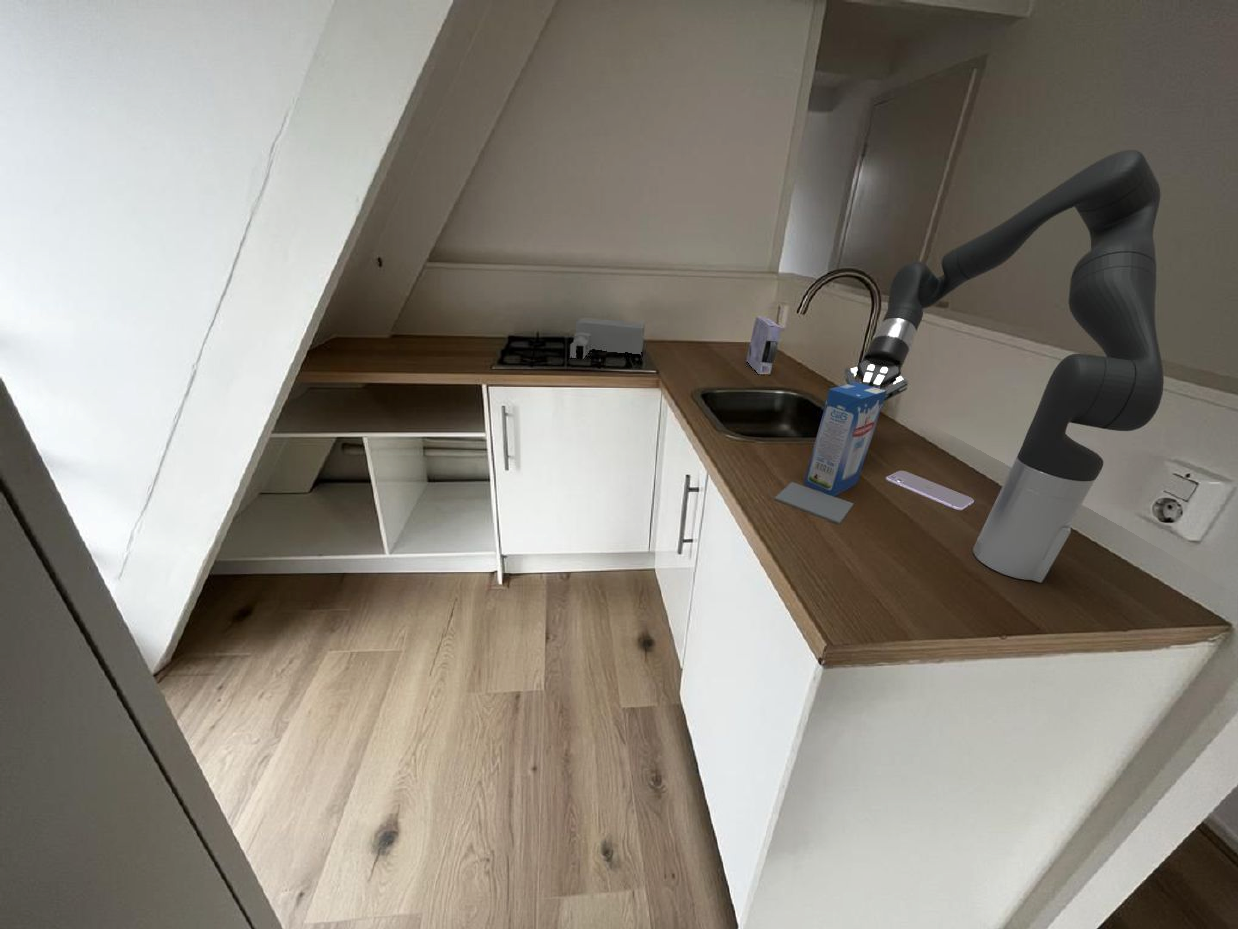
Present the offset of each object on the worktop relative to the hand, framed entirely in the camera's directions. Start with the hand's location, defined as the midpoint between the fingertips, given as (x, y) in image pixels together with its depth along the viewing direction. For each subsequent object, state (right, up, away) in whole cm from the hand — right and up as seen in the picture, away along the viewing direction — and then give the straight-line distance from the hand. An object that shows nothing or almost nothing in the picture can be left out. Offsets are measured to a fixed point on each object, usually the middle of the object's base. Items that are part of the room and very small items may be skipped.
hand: (858, 413), depth 100 cm
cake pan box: (+2, +24, +81) cm, 85 cm away
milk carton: (-6, -15, 0) cm, 16 cm away
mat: (-12, -18, -8) cm, 23 cm away
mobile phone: (+15, -16, +1) cm, 22 cm away
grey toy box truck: (-53, +31, +85) cm, 105 cm away
